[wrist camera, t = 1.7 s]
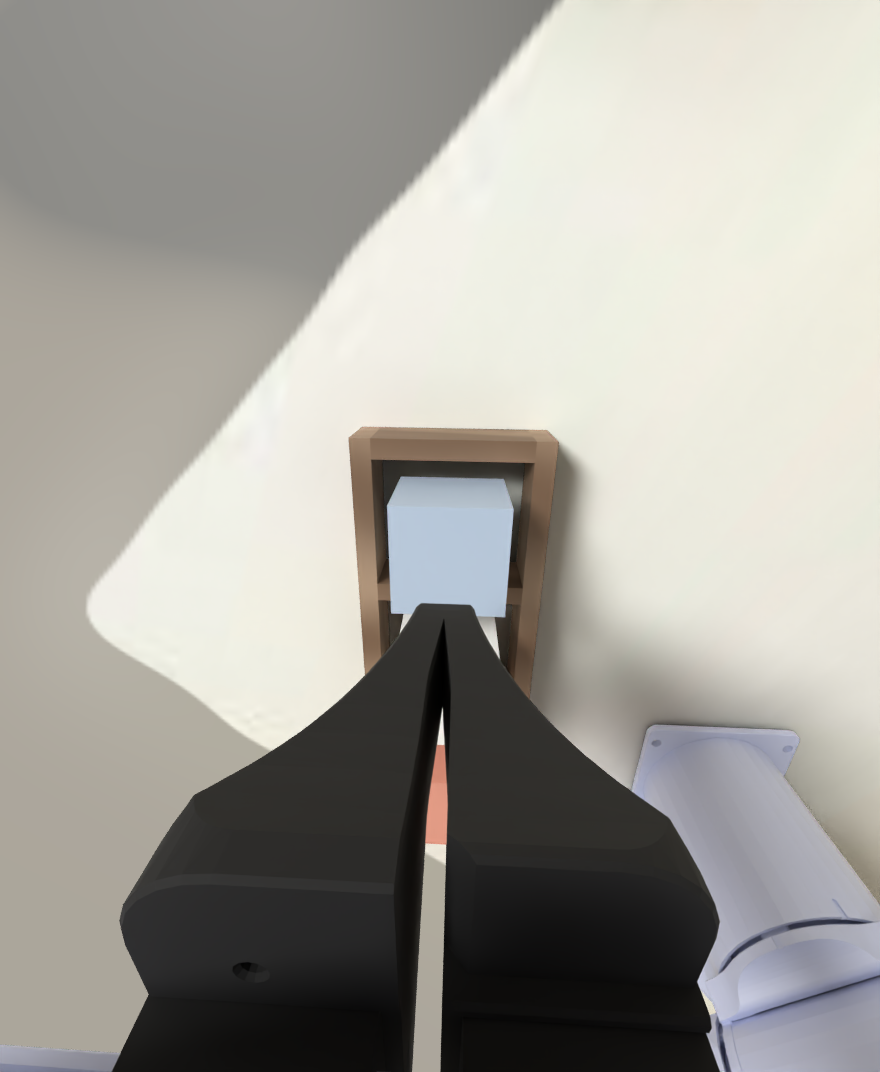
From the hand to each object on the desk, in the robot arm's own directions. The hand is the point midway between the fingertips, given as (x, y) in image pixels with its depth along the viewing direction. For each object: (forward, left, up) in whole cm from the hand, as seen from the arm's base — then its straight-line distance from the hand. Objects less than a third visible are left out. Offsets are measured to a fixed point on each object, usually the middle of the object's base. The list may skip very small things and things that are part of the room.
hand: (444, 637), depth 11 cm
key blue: (0, 0, -8) cm, 8 cm away
